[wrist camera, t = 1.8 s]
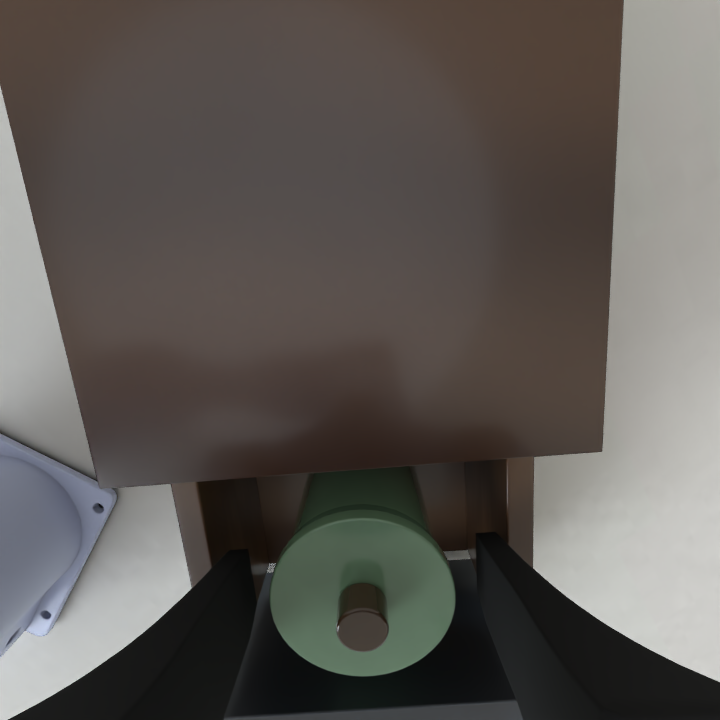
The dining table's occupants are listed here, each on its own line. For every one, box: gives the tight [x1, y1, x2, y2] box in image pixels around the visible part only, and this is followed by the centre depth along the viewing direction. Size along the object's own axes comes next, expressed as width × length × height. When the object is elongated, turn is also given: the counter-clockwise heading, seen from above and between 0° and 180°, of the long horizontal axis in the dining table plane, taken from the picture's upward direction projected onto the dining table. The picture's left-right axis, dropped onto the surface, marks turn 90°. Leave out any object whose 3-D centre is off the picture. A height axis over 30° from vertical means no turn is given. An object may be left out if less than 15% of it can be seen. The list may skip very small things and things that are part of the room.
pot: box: [269, 466, 456, 676], centre depth 15 cm, size 5×5×8 cm
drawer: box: [171, 457, 534, 720], centre depth 17 cm, size 16×12×7 cm
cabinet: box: [0, 0, 624, 489], centre depth 14 cm, size 14×13×9 cm
